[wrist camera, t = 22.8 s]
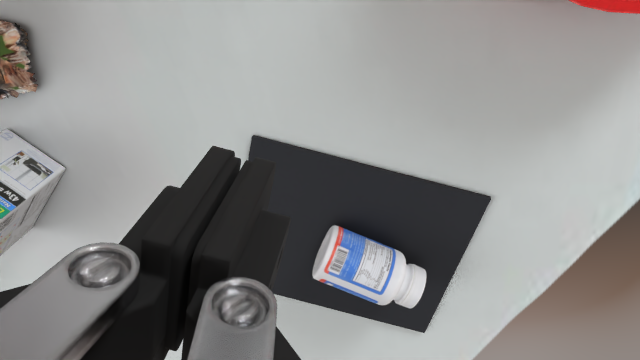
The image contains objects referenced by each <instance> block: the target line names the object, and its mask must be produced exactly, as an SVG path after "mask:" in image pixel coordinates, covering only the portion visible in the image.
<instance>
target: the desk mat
mask: <svg viewBox="0 0 640 360" xmlns="http://www.w3.org/2000/svg"><path fill="white" fill-rule="evenodd" d="M255 157H258V158H262V159H266V160H269V161H273V162H276V170H275V175H274V180H273V185H272V190H271V195H270V200H269V205H268V211H269V212H273V213H277V214H281V215H285V216H289V217H291V222H290V226H289V231H288V235H287V239H286V243H285V247H284V251H283V255H282V259H281V262H280V266H279V269H278V273H277V276H276V279H275V282H274V285H273V289H272V293H273V294H277V295H281V296H285V297H288V298H292V299H296V300H300V301H304V302H308V303H311V304H315V305H319V306H323V307H327V308H331V309H334V310H338V311H342V312H346V313H350V314H354V315H357V316H361V317H365V318H369V319H373V320H377V321H380V322H384V323H388V324H392V325H396V326H400V327H403V328H407V329H411V330H415V331H419V332H423V333H425V331H426V329H427V327H428V325H429V323H430V321H431V319H432V317H433V315H434V313H435V311H436V309H437V307H438V305H439V303H440V301H441V299H442V297H443V294H444V292H445V290H446V288H447V286H448V284H449V282H450V280H451V278H452V276H453V274H454V272H455V270H456V268H457V266H458V264H459V262H460V260H461V258H462V256H463V254H464V252H465V250H466V248H467V246H468V244H469V242H470V240H471V238H472V236H473V234H474V232H475V230H476V228H477V226H478V224H479V222H480V220H481V218H482V216H483V214H484V212H485V210H486V208H487V206H488V204H489V202H490V200H491V197H489V196H486V195H482V194H478V193H474V192H470V191H466V190H462V189H459V188H455V187H451V186H447V185H443V184H439V183H435V182H432V181H428V180H424V179H420V178H416V177H412V176H409V175H405V174H401V173H397V172H393V171H389V170H385V169H382V168H378V167H374V166H370V165H366V164H362V163H358V162H355V161H351V160H347V159H343V158H339V157H335V156H332V155H328V154H324V153H320V152H316V151H312V150H308V149H305V148H301V147H297V146H293V145H289V144H285V143H281V142H278V141H274V140H270V139H266V138H262V137H258V136H255V135H253V136H252V141H251V147H250V153H249V160H248V161H251V162H253V160H254V159H255ZM334 225H336V226H339V227H342V228H344V229H347V230H349V231H352V232H354V233H356V234H359V235H361V236H364V237H366V238H369V239H371V240H374V241H376V242H378V243H381V244H383V245H386V246H388V247H391V248H393V249H396V250H398V251H400V252H401V253H402V254H403V255H404V257H405V259H406V264H407V265H408V264H415V265H416V266H419V267H421V268H423V269H425V271H426V284H425V288H424V291H423V294H422V296H421V298H420V300H419V301H418V303H417V304H416V305H415V306H414V307H413V308H407V307H404V306H402V305H399V304H397V303H395V301H394V300H392V301H391V302H390V303H389V304H387V305H378V304H376V303H373V302H370V301H368V300H365V299H363V298H360V297H358V296H355V295H353V294H350V293H348V292H345V291H343V290H340V289H338V288H335V287H333V286H330V285H328V284H325V283H323V282H320V281H318V280H316V279H314V278H313V275H312V273H313V267H314V263H315V259H316V256H317V254H318V251H319V249H320V247H321V244H322V242H323V240H324V238H325V236H326V234H327V232H328V230H329V229H330V228H331V227H332V226H334Z"/></svg>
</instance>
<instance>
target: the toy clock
mask: <svg viewBox="0 0 640 360" xmlns="http://www.w3.org/2000/svg"><path fill="white" fill-rule="evenodd" d="M569 1H571V2H573V3H576V4H578V5H580V6H584V7H589V8H593V9H598V10H602V11H607V12H620V13H640V0H569Z"/></svg>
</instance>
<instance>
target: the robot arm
mask: <svg viewBox="0 0 640 360" xmlns="http://www.w3.org/2000/svg"><path fill="white" fill-rule="evenodd" d="M240 165H241V159H240V158H236V157H235V153H234V151H231V150H227V149H223V148H219V147H216V146H212V147H211V148H210V150H209V151H208V152H207V154H206V155H205V156H204V158H203V159H202V160H201V162H200V163H199V164H198V166H197V167H196V168H195V169H194V171H193V172H192V173H191V175H190V176H189V177H188V179H187V180H186V181H185V183H184V184H183V185H182V187H181V188H177V187H173V186H167V187H166V188H165V189H164V190H163V191H162V192H161V193H160V194H159V196H158V197H157V198H156V199H155V201H154V202H153V203H152V204H151V205H150V207H149V208H148V209H147V210H146V211H145V213H144V214H143V215H142V216H141V218H140V219H139V220H138V221H137V222H136V224H135V225H134V226H133V227H132V229H131V230H130V231H129V232H128V233H127V235H126V236H125V237H124V238H123V240H122V241H121V242H120V243H119V244H115V243H95V244H89V245H86V246H83V247H80V248H78V249H76V250H74V251H73V252H71V253H70V254H68V255H67V256H66V257H64V258H63V259H62V260H61V261H59V262H58V263H57V264H56V265H54V266H53V267H52V268H51V269H49V270H48V271H47V272H46V273H44V274H43V275H42V276H41V277H39V278H38V279H37V280H36V281H34V282H33V283H32V284H29V285H25V286H21V287H17V288H14V289H10V290H6V291H2V292H0V360H164V359H165V357H166V355H167V353H168V351H169V350H173V351H177V350H178V348H179V346H180V344H181V342H182V340H183V349H182V359H181V360H301V359H300V358H299V356H298V355H297V354H296V352H295V351H294V350H293V348H292V347H291V345H290V344H289V343H288V341H287V340H286V339H285V337H284V336H283V335H282V333H281V332H280V331H279V329H278V328H277V327H276V318H277V302H276V298H275V296H274V295H273V293H272V289H273V285H274V282H275V279H276V276H277V273H278V269H279V266H280V262H281V259H282V255H283V251H284V247H285V243H286V239H287V235H288V231H289V226H290V222H291V217H289V216H285V215H281V214H277V213H273V212H269V211H268V205H269V200H270V195H271V190H272V185H273V180H274V175H275V170H276V162H273V161H269V160H266V159H262V158H258V157H255V159H254V160H253V162H251V161H248V160H246V161H245V163H244V165H243V166H242V168H241V170H240ZM183 338H184V339H183Z"/></svg>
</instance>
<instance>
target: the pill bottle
mask: <svg viewBox="0 0 640 360" xmlns="http://www.w3.org/2000/svg"><path fill="white" fill-rule="evenodd" d="M312 275H313V278H314V279H316V280H318V281H320V282H323V283H325V284H328V285H330V286H333V287H335V288H338V289H340V290H343V291H345V292H348V293H350V294H353V295H355V296H358V297H360V298H363V299H365V300H368V301H370V302H373V303H376V304H378V305H387V304H389V303H390V302H391V301H392V300H394V301H395V303H397V304H399V305H402V306H404V307H407V308H413V307H414V306H415V305H416V304H417V303H418V301H419V300H420V298H421V296H422V294H423V291H424V288H425V284H426V271H425V269H423V268H421V267H419V266H416V265H415V264H408V265H407V264H406V259H405V257H404V255H403V254H402V253H401V252H400V251H398V250H396V249H393V248H391V247H388V246H386V245H383V244H381V243H378V242H376V241H374V240H371V239H369V238H366V237H364V236H361V235H359V234H356V233H354V232H352V231H349V230H347V229H344V228H342V227H339V226H336V225H334V226H332V227H331V228H330V229H329V230H328V232H327V234H326V236H325V238H324V240H323V242H322V244H321V247H320V249H319V251H318V254H317V256H316V259H315V263H314V267H313V273H312Z"/></svg>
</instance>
